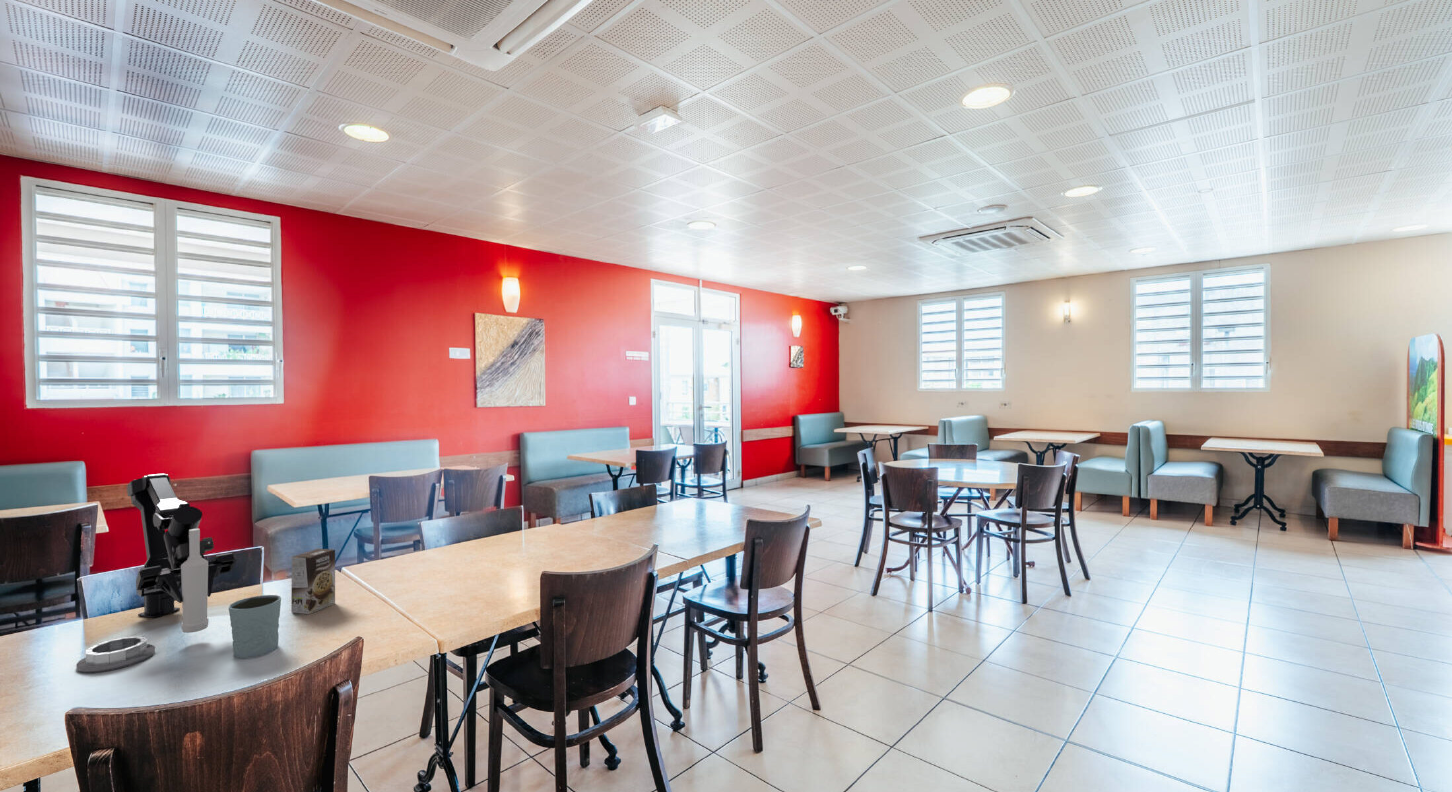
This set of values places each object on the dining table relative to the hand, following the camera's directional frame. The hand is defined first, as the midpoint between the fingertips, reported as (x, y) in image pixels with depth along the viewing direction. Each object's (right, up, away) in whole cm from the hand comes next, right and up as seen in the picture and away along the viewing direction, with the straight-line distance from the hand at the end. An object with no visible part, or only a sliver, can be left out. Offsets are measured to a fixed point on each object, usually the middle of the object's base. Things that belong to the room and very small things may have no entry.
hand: (195, 598), depth 152 cm
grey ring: (-10, -11, -10) cm, 18 cm away
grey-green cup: (+18, -11, -4) cm, 22 cm away
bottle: (0, -8, 0) cm, 8 cm away
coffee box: (+13, -11, +24) cm, 29 cm away
